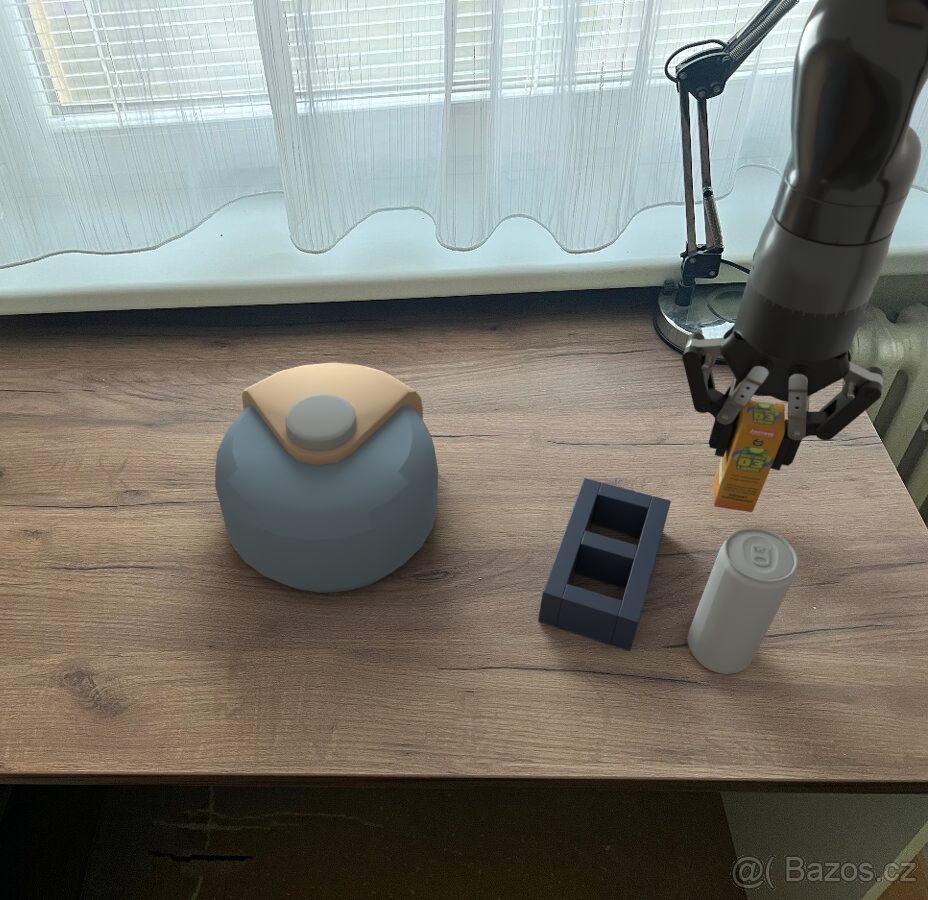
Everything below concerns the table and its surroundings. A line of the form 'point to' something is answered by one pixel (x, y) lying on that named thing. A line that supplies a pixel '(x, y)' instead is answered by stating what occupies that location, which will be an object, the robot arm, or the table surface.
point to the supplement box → (749, 455)
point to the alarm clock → (328, 476)
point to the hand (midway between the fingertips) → (748, 455)
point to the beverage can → (741, 599)
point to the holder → (604, 563)
